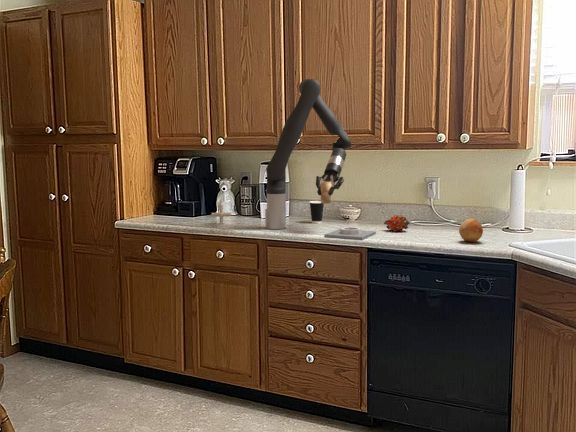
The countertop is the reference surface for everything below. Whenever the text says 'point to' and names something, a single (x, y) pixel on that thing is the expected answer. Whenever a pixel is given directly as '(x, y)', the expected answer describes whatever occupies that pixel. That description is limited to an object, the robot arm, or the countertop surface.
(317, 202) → the dixie cup
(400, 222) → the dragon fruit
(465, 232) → the onion
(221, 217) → the pipe connector
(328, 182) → the tan cylinder
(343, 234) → the hub plate
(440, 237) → the countertop surface
